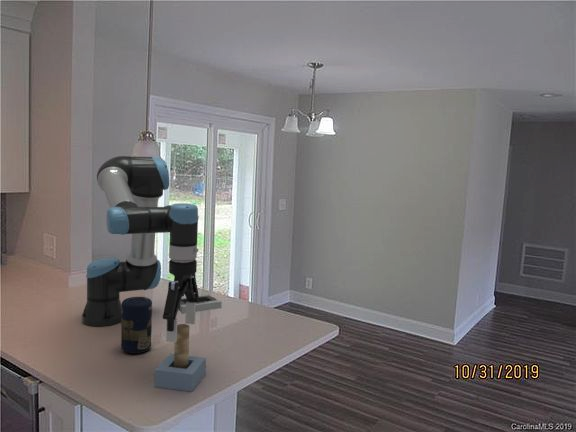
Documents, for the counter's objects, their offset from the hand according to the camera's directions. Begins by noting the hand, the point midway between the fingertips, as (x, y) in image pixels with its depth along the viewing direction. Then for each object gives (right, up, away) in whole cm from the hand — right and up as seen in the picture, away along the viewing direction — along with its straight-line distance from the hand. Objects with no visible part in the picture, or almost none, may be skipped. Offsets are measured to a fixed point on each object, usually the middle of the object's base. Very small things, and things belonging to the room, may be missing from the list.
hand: (181, 332), depth 130 cm
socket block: (0, -14, +1) cm, 14 cm away
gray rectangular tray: (-10, -6, +68) cm, 69 cm away
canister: (-20, -11, +20) cm, 30 cm away
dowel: (0, -13, +1) cm, 13 cm away
